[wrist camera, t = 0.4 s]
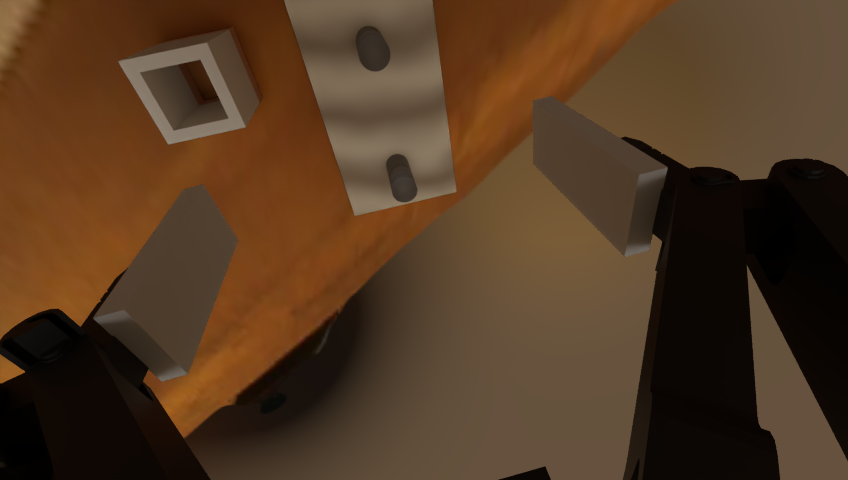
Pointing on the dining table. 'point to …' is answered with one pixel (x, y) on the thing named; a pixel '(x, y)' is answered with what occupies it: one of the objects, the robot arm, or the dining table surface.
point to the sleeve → (194, 85)
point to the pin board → (379, 96)
